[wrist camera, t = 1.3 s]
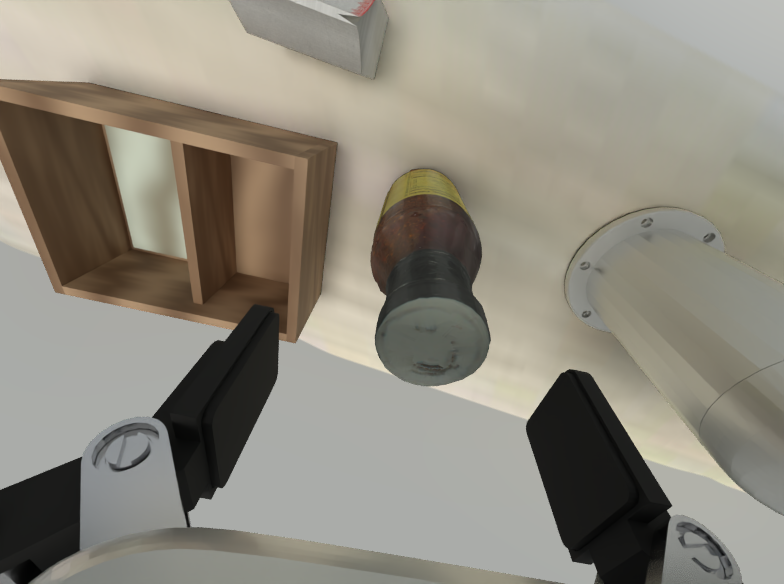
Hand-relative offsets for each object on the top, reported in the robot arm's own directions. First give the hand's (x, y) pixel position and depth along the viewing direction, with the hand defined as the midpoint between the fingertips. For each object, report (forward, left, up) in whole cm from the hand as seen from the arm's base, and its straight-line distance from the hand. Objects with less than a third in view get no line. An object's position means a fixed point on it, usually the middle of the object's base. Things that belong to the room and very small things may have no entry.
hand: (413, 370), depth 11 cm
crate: (+18, +5, -21) cm, 27 cm away
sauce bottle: (0, 0, -21) cm, 21 cm away
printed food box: (+9, -10, -21) cm, 25 cm away
